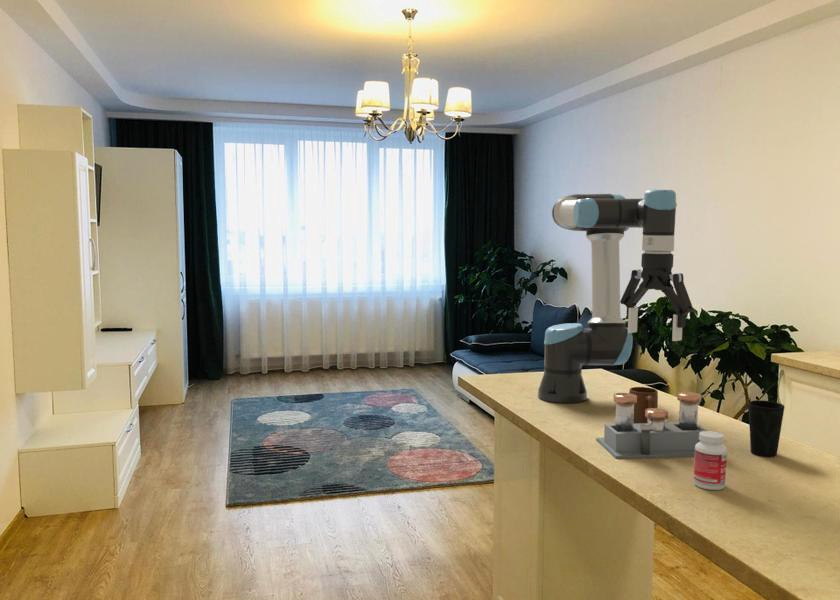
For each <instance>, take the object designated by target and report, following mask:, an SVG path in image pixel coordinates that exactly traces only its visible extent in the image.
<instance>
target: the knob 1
mask: <svg viewBox="0 0 840 600" xmlns="http://www.w3.org/2000/svg"><path fill="white" fill-rule="evenodd" d="M613 402H614V403H615V423H614V424H615V429H616V430H618V431H622V432H631V431H633V422H634V403H637V396H636V395H634V394H630V393H629V392H615V393H614V394H613Z"/></svg>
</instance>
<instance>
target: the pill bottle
mask: <svg viewBox="0 0 840 600" xmlns="http://www.w3.org/2000/svg"><path fill="white" fill-rule="evenodd" d="M724 437H725V436H724V434H722V432H721V433H720V432H717V431H710V430H708V431H702V432H700V433H699V440H700V442H698V443H697V444H696V445H695V457H694V460H693V461H694V463H693V484H694V485H695V486H696V487H698V488H700V489H704V490H709V491H720V490H723V489H724V488H725V486H726V479H727V474H726V473H727V457H728V456H727V454H728V452H727V447H726V446H725V445H724V444H723V443H724Z"/></svg>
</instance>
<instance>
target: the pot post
mask: <svg viewBox="0 0 840 600" xmlns="http://www.w3.org/2000/svg"><path fill="white" fill-rule="evenodd" d="M640 429H641V454H643V455H649V454H650V430H652V425H649V424H641V425H640Z"/></svg>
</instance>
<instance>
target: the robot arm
mask: <svg viewBox="0 0 840 600" xmlns="http://www.w3.org/2000/svg"><path fill="white" fill-rule="evenodd" d="M677 206H678V205H677V193H676V191H674V190H672V189H648V190H646V191H645V192H644V196H643V198H626V197H624V196H623V195H621V194H613V193H591V194H590V193H589V194H586V193H585V194H584V193H583V194H582V193H578V194H577V193H576V194H569V195H567V196H563V197H561V198H559V199H558V200H557V201H555V203H554V204H553V207H552V210H551V217H552V220H553V222H554V223H555V224H556V225H557V226H558V227H560V228H562V229H565V230H568V231H576V232H586V233H585V234H586V235H585V236H586V237H585V238H586V239H587V240H588V241H590V243H591V297H592V298H591V300H592V301H591V303H592V304H591V305H592V307H591V311H592V312H591V313H592V314H591V318H590V319H589V320H588V321H587V327H585V328H584V326H583V324H582V323H577V322H573V323H570V322H569V323H568V322H567V323H561V324H560V323H559V324H555V325H552V326H549V327H548V328H547V329H546V330H545V332H544V341H543V344H544V351H543V353H544V358H543V360H544V361H543V362H544V363H543V365H544V366H543V375H542V379H541V381H540V384H539V387H538V390H537V394H538V395H537V397H538V398H539V399H540V400H542V401H546V402H549V403H550V402H551V403H557V404H558V403H559V404H576V403H577V404H578V403H581V402H585V401H587V399H588V397H587V395H588V394H587V393H588V392H587V388H586V384H585V381H584V379H583V373H582V368H583V366H617V365H618V366H619V365H624V364H626V363H627V361H629V359H630V356H631V353H632V350H633V345H634V344H633V343H634V342H633V341H634V340H633V334H634V333H637V332H638V315H639V314H638V313H639V307H637V305H638V303H639V302H640V301H641V299H642V298H643V297H644V296H645V294H646V293H647V292H648V291H649V290H655V291H661V292H662V293H663V294H664V295H665V297H666V299H667V300H668V302H669V303H670V305H671V306H672V309H673V310H674V312H675V313H674V314H673V315H672V317H673V318H672V336H671V337H672V338H671V342H679V341H682V340H683V328H685V326H686V315H687V314H689V313H693V312H694V307H693V304H692V302H691V299H690V296H689V293H688V290H687V288H686V286H685V282H684V280H685V279H684V274H683V273H681V272H680V273H679V272H678V273H673V272H672V269H673V268H674V254H673V253H672V252H674V251H675V231H676V229H675V228H676V215H677V212H676V209H677ZM630 228H639V229H640V228H642V246H641V250H642V251H643V253H641V266H640V267H642V270H641V269H632V271H631V274H630V279H629V281H628V284H627V286H626V288H625V290H624V292H623V295H622V296H621V280H620V279H621V276H620V274H621V273H620V271H621V270H620V269H621V267H620V265H621V264H620V241H621V240H622V239H623V238H624V237H625V232H627V231H628V230H630ZM641 279H642V281H641ZM671 282H672V283H671ZM621 305H623V306H624V305H625V307H626V320H628V322H627V323H626V321H625V320H624V319H623V318H622V316H621ZM626 324H627V325H626Z"/></svg>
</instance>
